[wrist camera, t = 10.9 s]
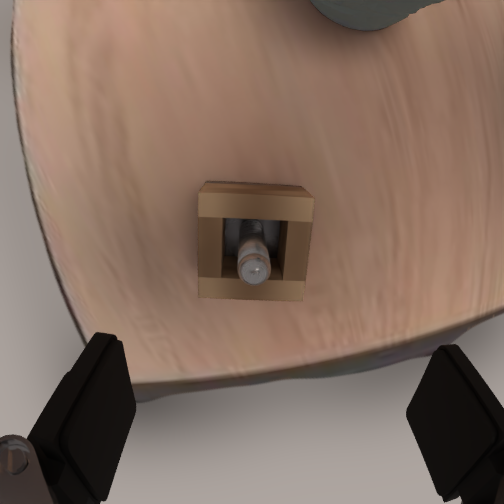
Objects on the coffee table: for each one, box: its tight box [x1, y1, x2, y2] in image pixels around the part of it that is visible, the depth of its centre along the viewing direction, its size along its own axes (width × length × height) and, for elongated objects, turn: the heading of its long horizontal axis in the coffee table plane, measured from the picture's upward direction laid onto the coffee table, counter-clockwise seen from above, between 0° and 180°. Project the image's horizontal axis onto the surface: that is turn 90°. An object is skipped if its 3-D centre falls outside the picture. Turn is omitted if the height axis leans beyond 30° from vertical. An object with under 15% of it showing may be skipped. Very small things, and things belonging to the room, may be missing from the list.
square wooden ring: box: [198, 183, 315, 301], centre depth 22 cm, size 7×7×4 cm
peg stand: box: [205, 181, 303, 286], centre depth 21 cm, size 7×7×9 cm
